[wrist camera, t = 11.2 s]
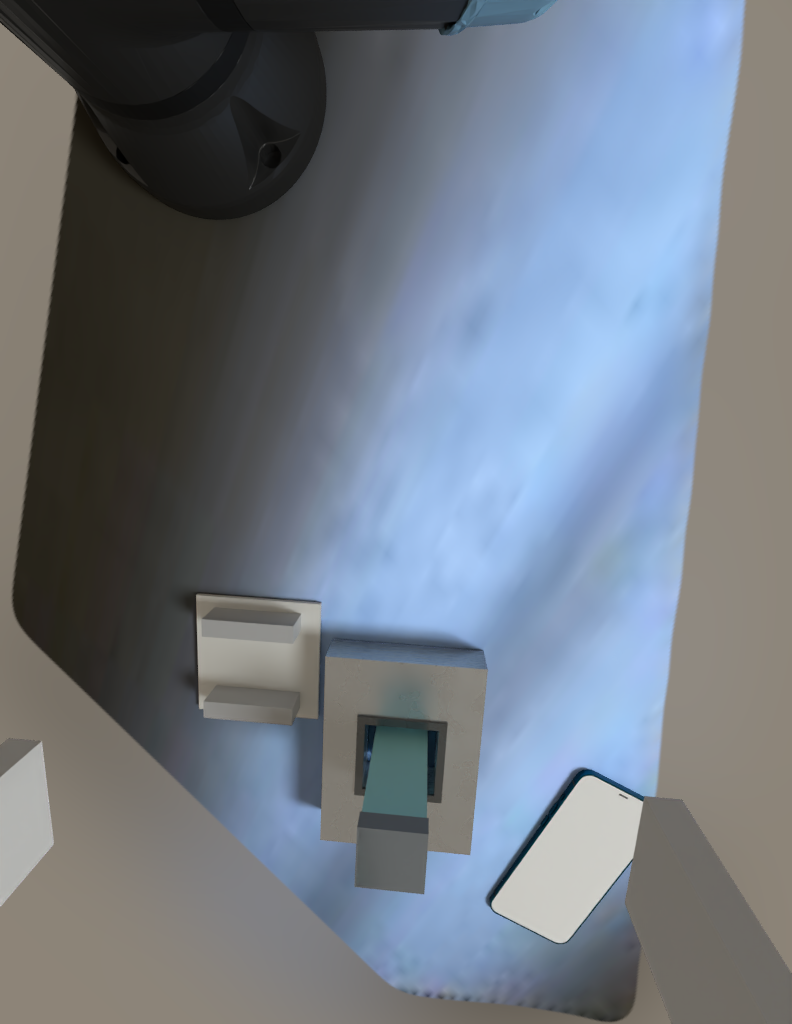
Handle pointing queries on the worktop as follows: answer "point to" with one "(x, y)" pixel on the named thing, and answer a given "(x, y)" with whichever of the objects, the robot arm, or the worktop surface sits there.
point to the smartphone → (571, 858)
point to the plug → (394, 813)
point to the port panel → (404, 704)
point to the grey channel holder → (258, 658)
